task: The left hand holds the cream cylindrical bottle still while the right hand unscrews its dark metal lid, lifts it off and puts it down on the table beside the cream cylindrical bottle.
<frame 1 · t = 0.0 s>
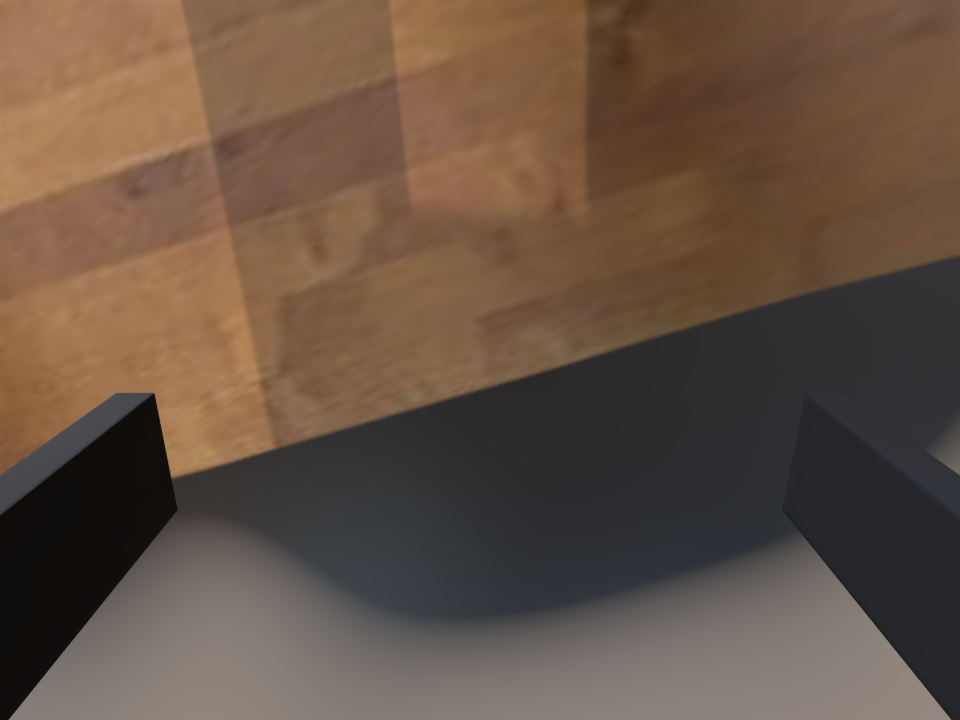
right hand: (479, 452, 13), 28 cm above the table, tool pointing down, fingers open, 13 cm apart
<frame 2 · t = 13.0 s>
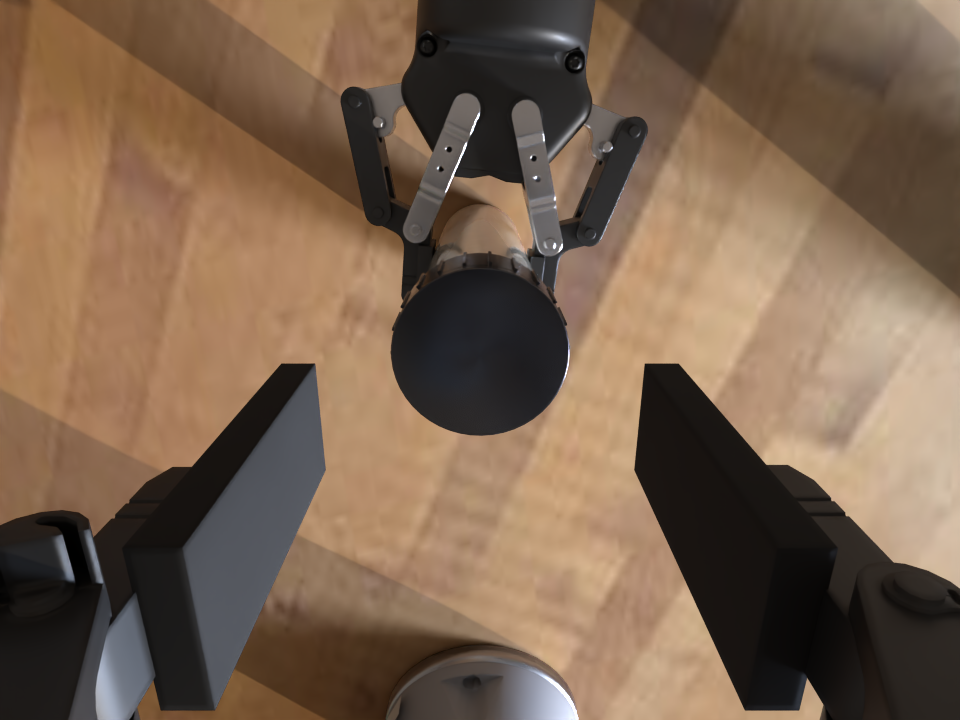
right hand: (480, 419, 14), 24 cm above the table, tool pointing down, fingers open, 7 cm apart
left hand: (474, 318, 31), fingers closed on cream cylindrical bottle, 4 cm apart
lid: (480, 352, 18), point 19 cm above the table, screwed on, not yet turned
cream cylindrical bottle: (480, 244, 37), on the table, touching left hand
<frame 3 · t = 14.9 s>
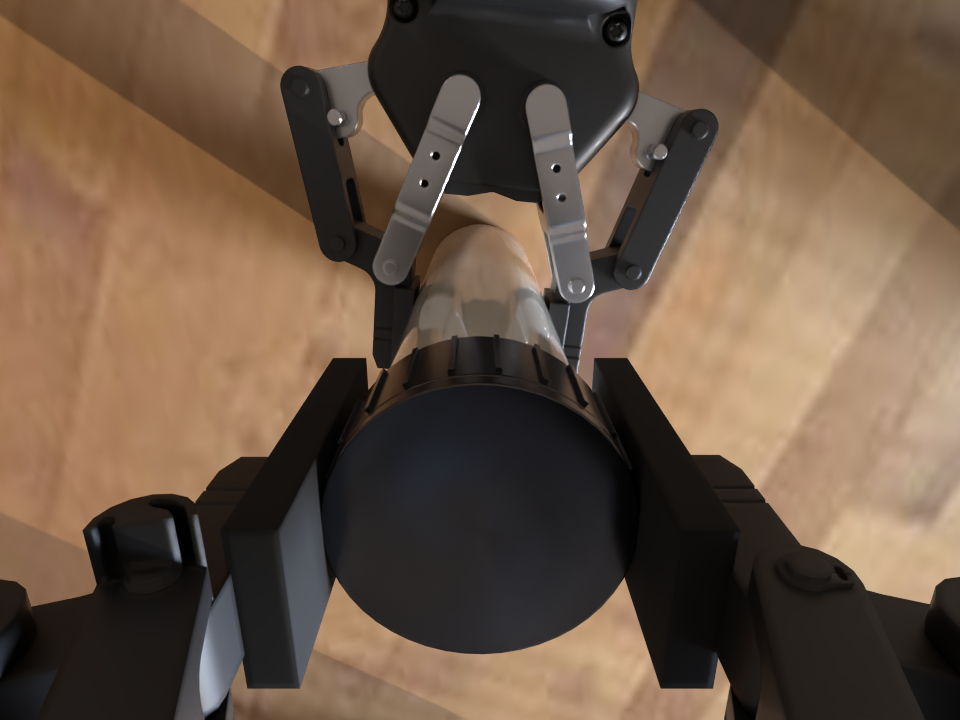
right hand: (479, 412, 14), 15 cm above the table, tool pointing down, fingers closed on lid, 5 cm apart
left hand: (472, 382, 23), fingers closed on cream cylindrical bottle, 4 cm apart
lid: (480, 518, 10), point 19 cm above the table, screwed on, not yet turned, touching right hand
cream cylindrical bottle: (480, 275, 29), on the table, touching left hand
when the right hand's fingers open (15 cm above the table, at t = 16.0 s): lid stays where it is, point 19 cm above the table.
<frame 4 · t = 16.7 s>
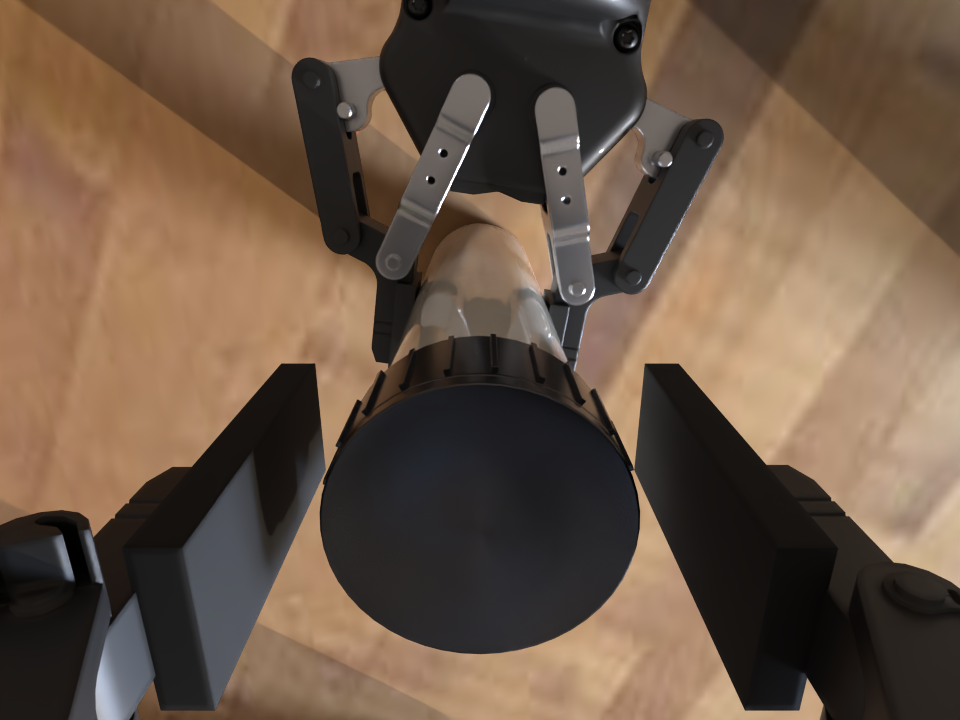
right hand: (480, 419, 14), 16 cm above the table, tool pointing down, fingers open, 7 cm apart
left hand: (469, 379, 23), fingers closed on cream cylindrical bottle, 4 cm apart
lid: (479, 518, 10), point 19 cm above the table, turned 69° so far, risen 0.2 cm, still on its thread
cream cylindrical bottle: (479, 274, 29), on the table, touching left hand
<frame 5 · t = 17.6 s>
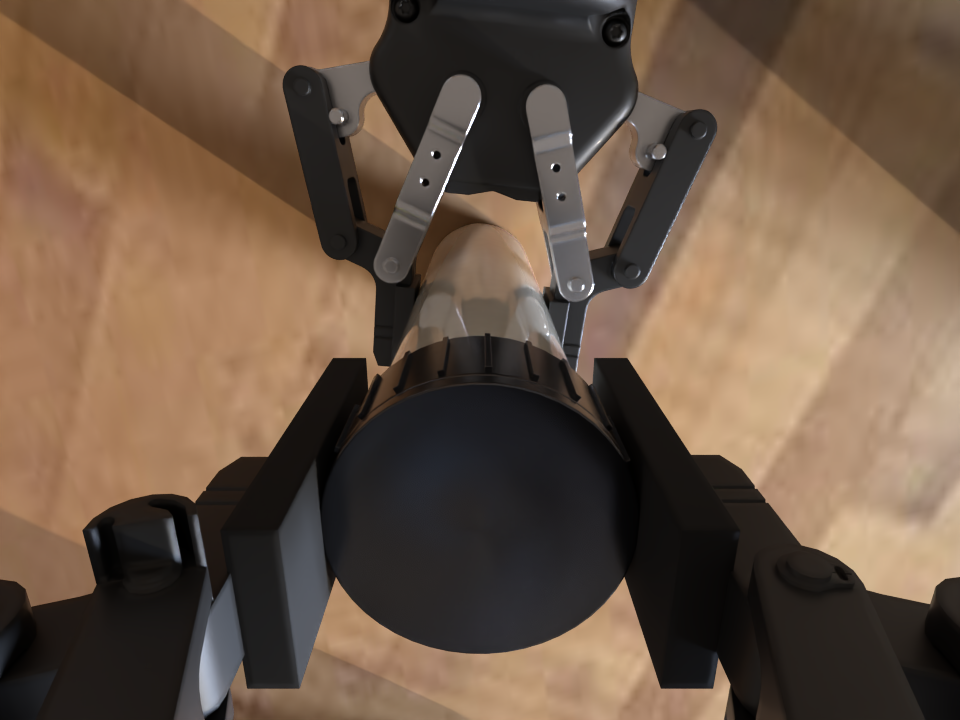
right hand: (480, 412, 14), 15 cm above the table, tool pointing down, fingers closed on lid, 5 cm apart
left hand: (472, 380, 23), fingers closed on cream cylindrical bottle, 4 cm apart
lid: (480, 518, 10), point 19 cm above the table, turned 69° so far, risen 0.2 cm, still on its thread, touching right hand
cream cylindrical bottle: (479, 274, 29), on the table, touching left hand
when the right hand's fingers open (0 cm above the table, at t = 25.2 s): lid stays where it is, point 2 cm above the table.
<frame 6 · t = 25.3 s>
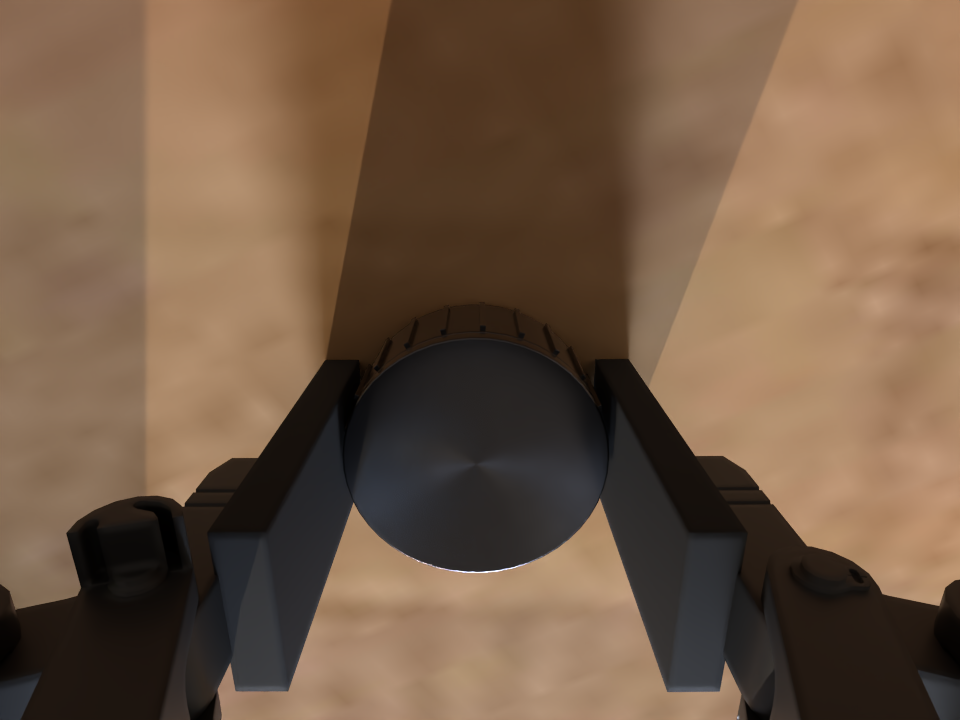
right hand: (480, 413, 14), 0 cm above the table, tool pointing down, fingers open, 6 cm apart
lid: (476, 455, 12), point 2 cm above the table, off its thread
when the left hand's fingers open (7 cm above the table, at t = 26.2 s): cream cylindrical bottle stays where it is, on the table.
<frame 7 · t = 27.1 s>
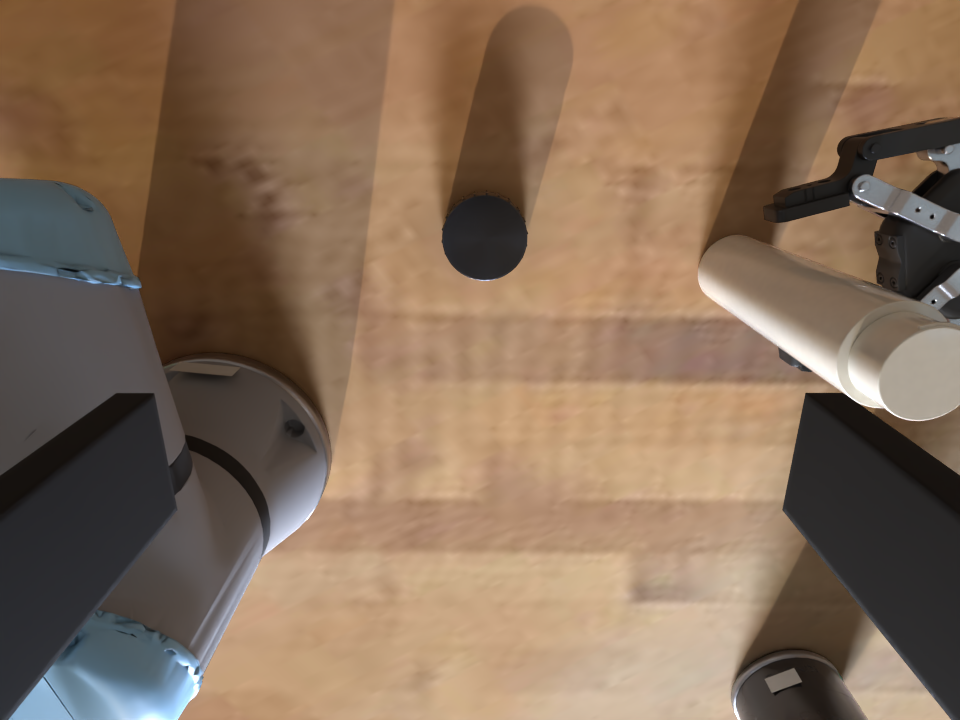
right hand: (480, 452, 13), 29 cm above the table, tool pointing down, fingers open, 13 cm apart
lid: (484, 238, 38), point 2 cm above the table, off its thread
cream cylindrical bottle: (732, 269, 41), on the table
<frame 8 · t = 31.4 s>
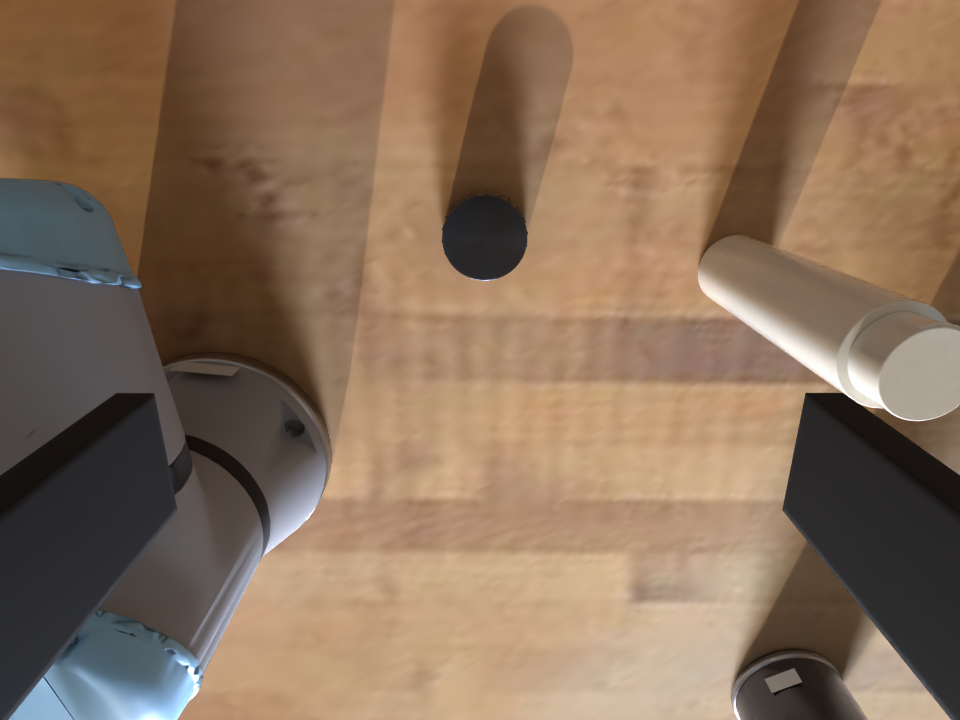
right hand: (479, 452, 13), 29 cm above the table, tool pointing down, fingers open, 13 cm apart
lid: (484, 238, 38), point 2 cm above the table, off its thread
cream cylindrical bottle: (732, 269, 41), on the table
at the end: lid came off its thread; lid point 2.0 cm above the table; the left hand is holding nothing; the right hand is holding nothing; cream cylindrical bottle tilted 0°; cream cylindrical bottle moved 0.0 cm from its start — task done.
